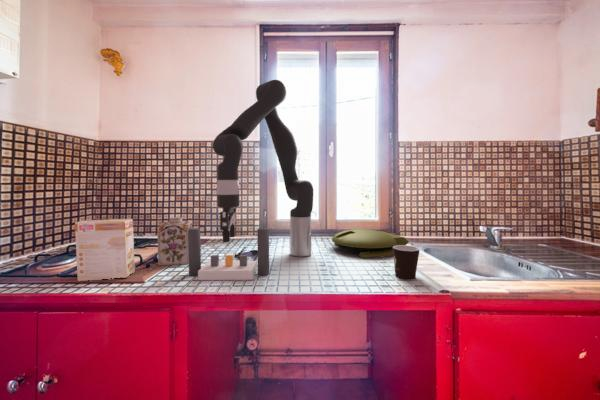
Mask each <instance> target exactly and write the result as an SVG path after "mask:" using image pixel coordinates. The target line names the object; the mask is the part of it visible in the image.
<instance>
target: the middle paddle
mask: <svg viewBox="0 0 600 400" xmlns="http://www.w3.org/2000/svg"><path fill="white" fill-rule="evenodd" d="M224 257H225V258H224V259H225V260H224V261H225V266H233V261H234V254H225V256H224Z"/></svg>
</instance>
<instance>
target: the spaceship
mask: <svg viewBox="0 0 600 400" xmlns="http://www.w3.org/2000/svg"><path fill="white" fill-rule="evenodd" d="M331 241H332V243H333V245H335V246H340V247H342V246H345V247H350V248H357V249H383V248H389V249H387V250H386V249H385V250H384V249H383V250H374V251H363V252H360V253H359V254H358V255H359V257H360V258H361V259H375V258H376V259H377V258H386V257H394V255H393V246H397V245H406V246H407V245H408V244H409V243H410V241H409V240H408V239H407V238H405V237H404V236H400V235H396V234H393V233H390V232H385V231H380V230H376V229H369V228H357V229H355V228H353V229H346V230H342V231H340V232H337V233H335V235H333V236H332V238H331Z"/></svg>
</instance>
